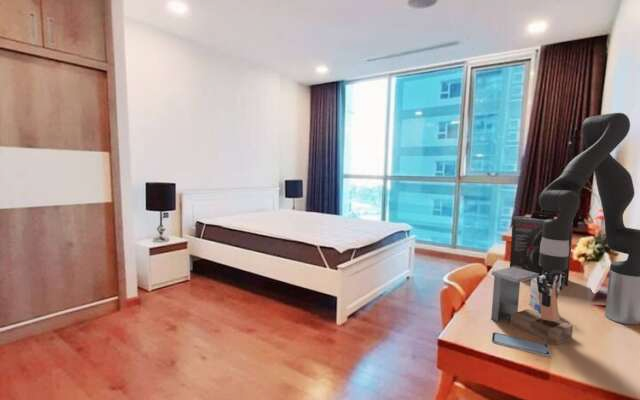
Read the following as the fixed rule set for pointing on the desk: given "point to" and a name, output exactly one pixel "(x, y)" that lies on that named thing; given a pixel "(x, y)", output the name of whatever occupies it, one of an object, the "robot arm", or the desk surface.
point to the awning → (508, 291)
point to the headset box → (531, 242)
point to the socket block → (541, 326)
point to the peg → (552, 311)
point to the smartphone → (521, 344)
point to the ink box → (534, 295)
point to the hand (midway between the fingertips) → (549, 304)
